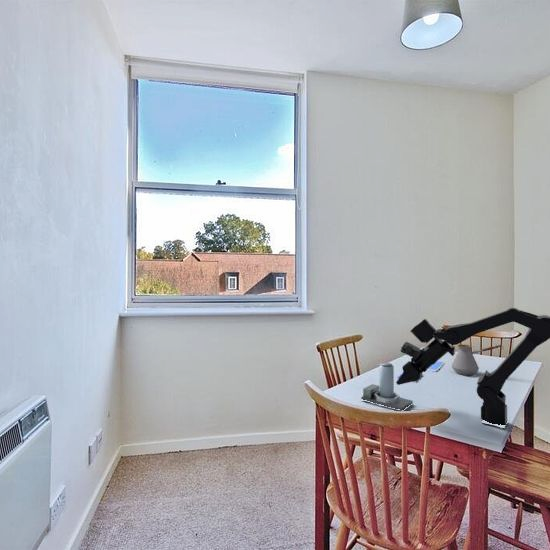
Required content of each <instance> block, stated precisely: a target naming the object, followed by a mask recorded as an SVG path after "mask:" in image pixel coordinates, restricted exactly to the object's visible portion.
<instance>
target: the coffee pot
mask: <svg viewBox="0 0 550 550" xmlns="http://www.w3.org/2000/svg"><path fill="white" fill-rule="evenodd" d="M457 348H458V350H457V353H456V355H455V357H454V359H453V362H452V363H451V368H452V370H454V372H455V373H456V374H458V375H462V376H463V375H464V376H473V375H475V374H477V372H478V371H479V369H480V367H479V365H478V363H477V361H476V359H475V357H474V354H478V353H482V352H486V351H492V350H494V349H498V348H502V350H504V349H505V348H504V346H503V344H499V345H495V346H488V347H486V348H482V349H479V350H473V351H472V348H473V346H472V345H470V344H457Z"/></svg>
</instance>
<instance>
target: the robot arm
mask: <svg viewBox="0 0 550 550" xmlns="http://www.w3.org/2000/svg"><path fill="white" fill-rule="evenodd" d="M510 323H516V324H519V325H521V326H524V327H526V328H528V330H527V331H526V333H525V335H524V338H523V339H521V341H520V342H519V343H518V344H517V345H516V346H515V347H514V349H513V350H512V351H511V352H510V353H509V354H508V355H507V357H505V359H504V360H503V361H501V363H500V365H498V366H497V368H496V369H494V370H493V371H491V372H489V371H488V370H487V369H486V370H485V372H484V374H483V375H482V376H481V377H478V379H477V383H476V385H477V387H476V394H477V396H478V397H479V398H480V399H481V400H482V401H483V402H482V405H481V407H480V420H481V421H482V420H485V421H487V422H489V423H492V424H498V425H500V424H501V425H506V423H507V421H508V405H507V403H506V400H507V399H506V397H507V396H506V394H505V393H504V392H503V391H502V389H503V387H504V385H505V383H506V381H507V380H508V379H509V378H510V376H512V374H513V373H514V372H515V371H516V370H517V369H518V368H519V367H520V366H521V364H522V363H523V362H524V361H525V360H527V358H528V357H529V356H530V355H531V354H532V353H533V351H534V350H535V349H536V348H537V347H539V346H540V345H543V343H546V342H547V341H548V340H550V315H546V314H543V315H542V314H541V315H537V314H534V313H531V312H528V311H524V310H520V309H518V308H517V307H510V308H507V309H506V310H503V311H500V312H498V313H495V314H492V315H488V316H486V317H482V318H481V319H477V320H474V321H471V322H466V323H459V324H453V325H450V326H448V327H447V328H439V329H436V328H435V327H434V326H433V325H432V324H431V323H430V322H429V321H428V319H427V318H424V319H423V320H422V321H421V322H419V323H417V324H416V325H415V326H413V327H412V328H411V330H410V333H411V334H412V335H413V336H414V337H415V338H416V339H417V340H418V341H419V342H420V343H421V344H427V345H426V346H425V347H423V348H420V347H418V346H416V345H414V344H412V343H410V342H409V341H405V342H404V343H403V344H402V346H401V348H400V352H401V353H402V354H405V355H406V356H409V357H410V361H407V362H406V363H404V365H403V366H402V373H403V374H402V373H401V374H402V375H401V374H400V375H401V376H400V375H399V376H400V378H399V379H397V380H396V385H398V386H400V385H404V384H408V383H416V382H415V381H417V380H418V381H419V380H420V379H421V378H422V377H423V375H422V374H423V373H425V372H427V371H426V370H427V369H428V368H429V367H431V366H432V365H434V364H435V363H436V362H437V361H438V362H439V360H441V358H442V357H444V356H445V355H446V354H448V353H449V354H450V355H451V356H452V357H453V356H454V355H455V354H456V345H460V343H462V342H465V341H466V340H468V339H469V338H471V337H473V336H475V335H477V334H479V333H483V332H486V331H488V330H492V329H495V328H498V327H501V326H504V325H507V324H510ZM431 340H432V341H431ZM430 341H431V342H430ZM429 342H430V343H429ZM428 343H429V344H428ZM413 381H414V382H413ZM418 381H417V382H418Z"/></svg>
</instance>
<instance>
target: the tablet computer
mask: <svg viewBox="0 0 550 550" xmlns="http://www.w3.org/2000/svg"><path fill="white" fill-rule="evenodd" d="M444 365H445V362H443V361H439V360H438V361H437V362H436V363H435V364H434V365H432V366H431V367H429V368H428V369H427V370H426V371H425V372H432V373H433V372H435V373H436V372H438V371H439V369H441V367H443V366H444Z"/></svg>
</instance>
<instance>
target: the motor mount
mask: <svg viewBox="0 0 550 550" xmlns="http://www.w3.org/2000/svg"><path fill="white" fill-rule="evenodd" d="M362 389H363V390H362V393H363V395H362V396H361V397H360V399H363V400H367V401H370V402H373V403H377V404H381V405H384V406H387V407H391V408H395V409H400V410H404V409H405V408H406V407H408V406H409V405H411V404H414V401H413V400H411V399H407V398H404V397H400V395H399V394H398V392H395V391H394V398H383V397H380V385H377V384H373V383H372V384H370V385H368V386H366V387H363V388H362ZM411 406H412V405H411ZM404 411H405V410H404Z"/></svg>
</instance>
